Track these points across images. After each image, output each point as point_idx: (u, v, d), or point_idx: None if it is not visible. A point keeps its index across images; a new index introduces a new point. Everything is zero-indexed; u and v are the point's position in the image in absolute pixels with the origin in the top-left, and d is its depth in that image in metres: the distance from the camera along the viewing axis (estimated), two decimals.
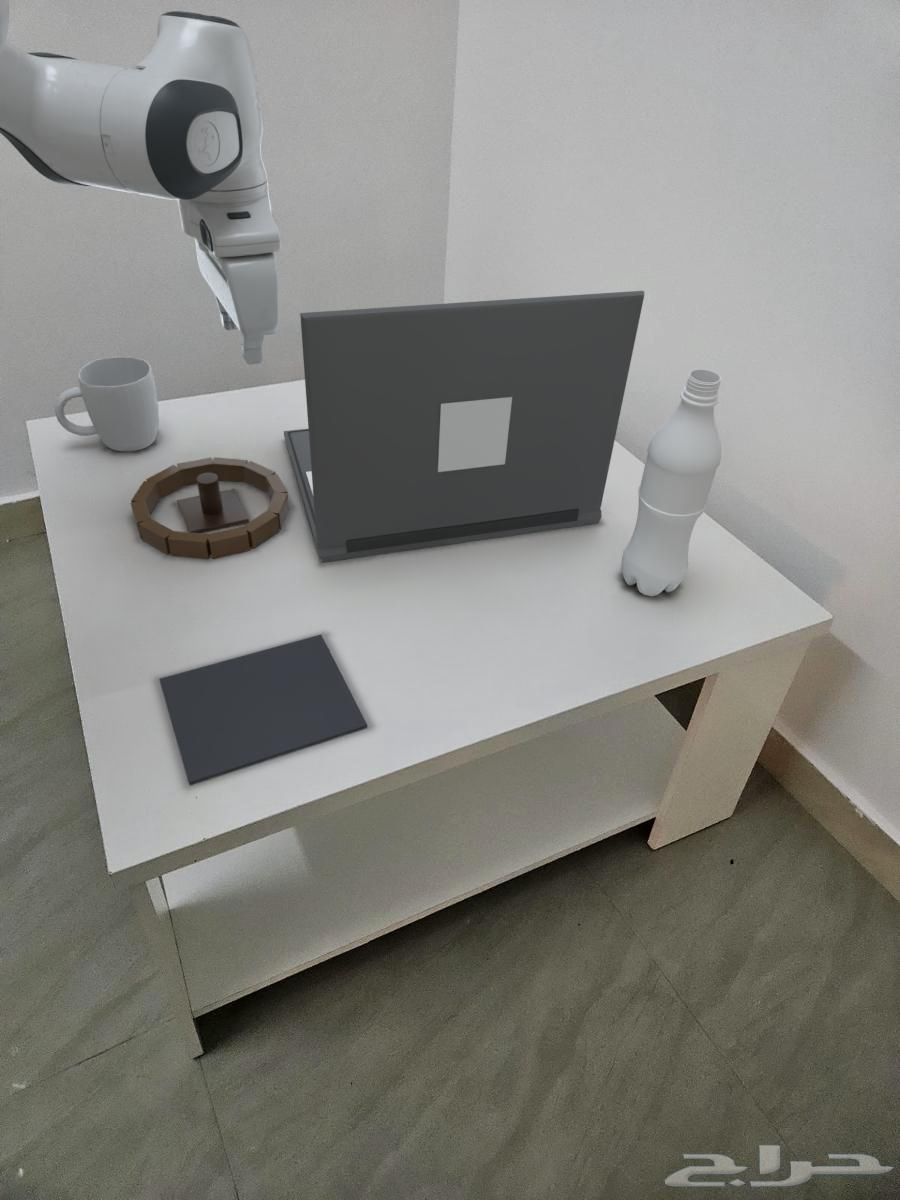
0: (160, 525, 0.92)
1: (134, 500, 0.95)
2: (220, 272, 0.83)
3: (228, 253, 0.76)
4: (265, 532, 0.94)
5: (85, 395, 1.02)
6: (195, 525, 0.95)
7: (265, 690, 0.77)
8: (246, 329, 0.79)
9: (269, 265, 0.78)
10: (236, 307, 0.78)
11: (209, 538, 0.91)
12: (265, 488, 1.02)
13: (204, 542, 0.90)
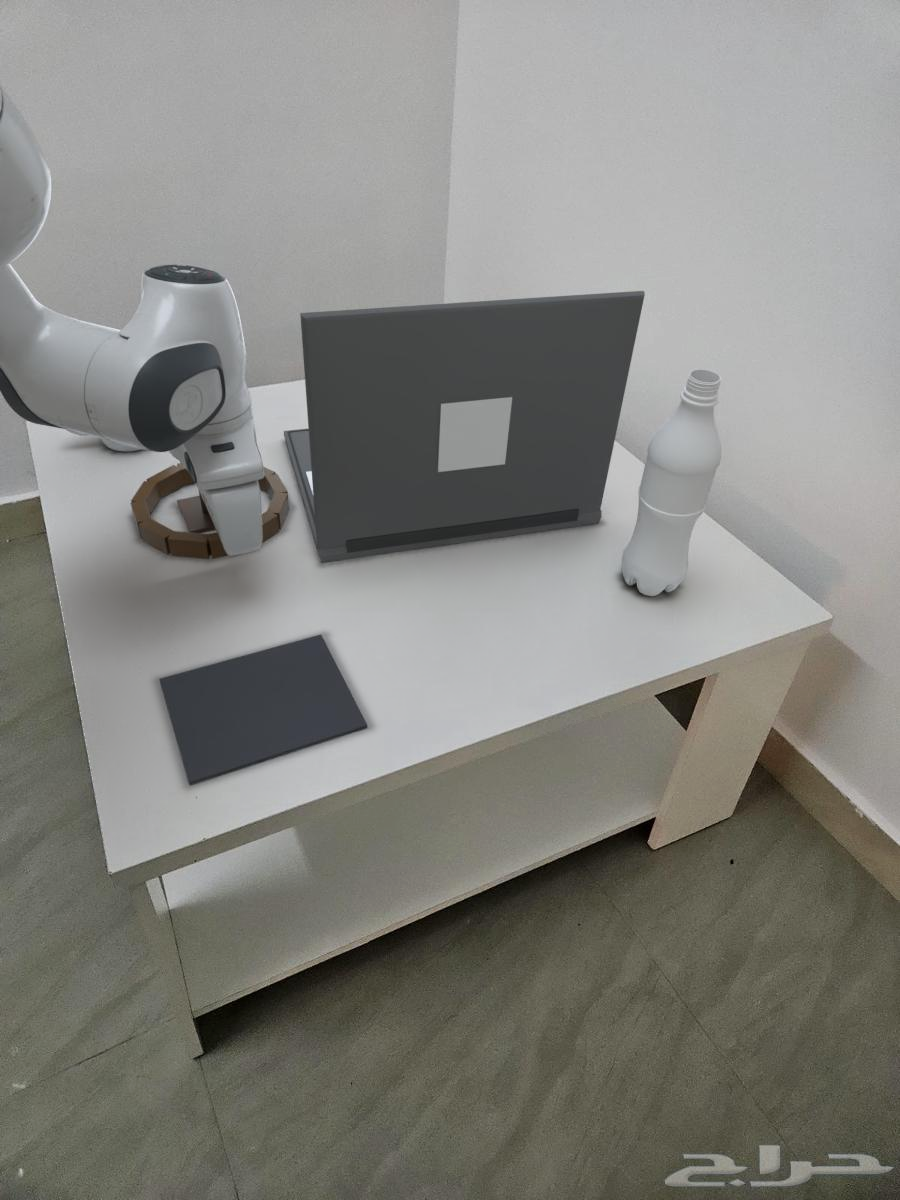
0: (160, 525, 0.92)
1: (134, 500, 0.95)
2: None
3: (212, 487, 0.77)
4: (265, 532, 0.94)
5: None
6: (195, 525, 0.95)
7: (265, 690, 0.77)
8: (230, 551, 0.81)
9: (252, 493, 0.79)
10: (220, 533, 0.80)
11: (209, 538, 0.91)
12: (266, 488, 1.02)
13: (204, 542, 0.90)
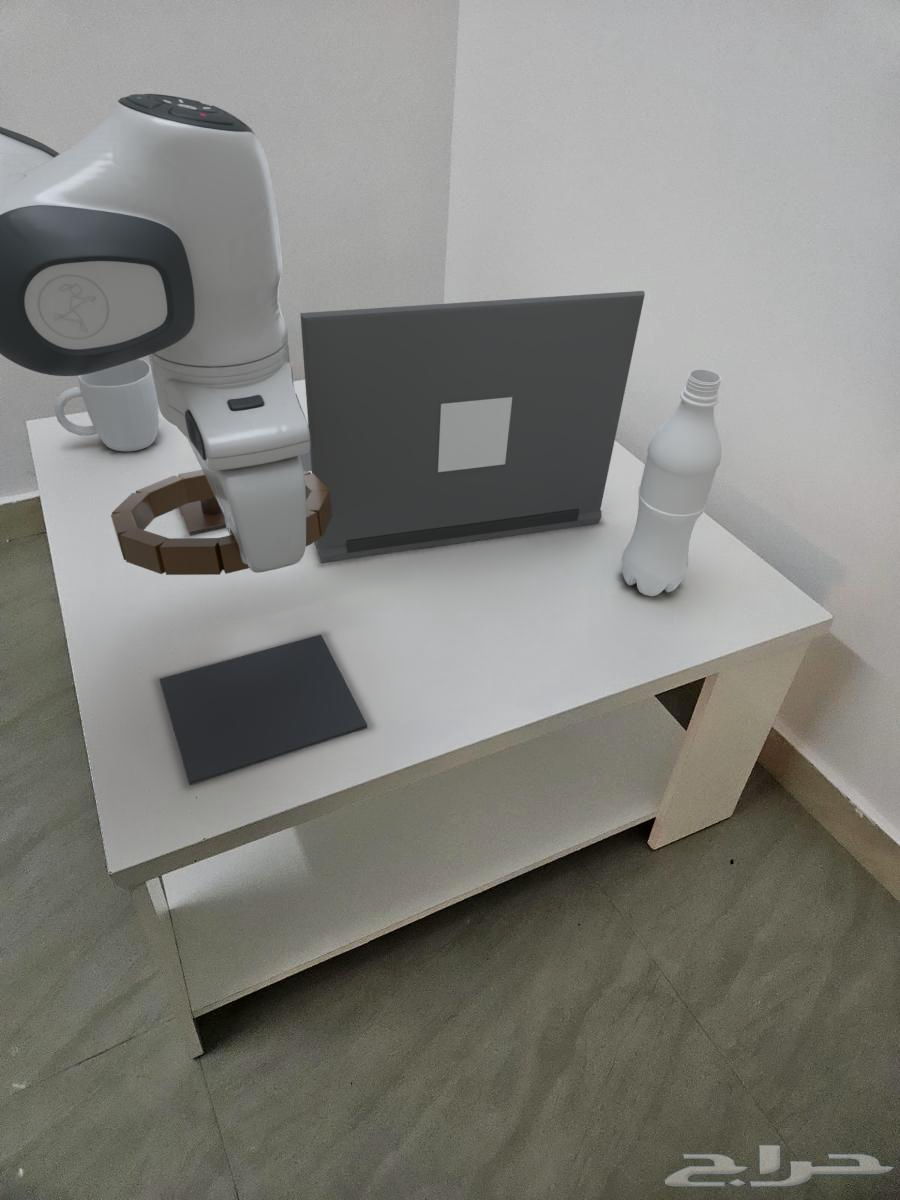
0: (150, 534, 0.64)
1: (116, 512, 0.68)
2: None
3: (230, 465, 0.49)
4: None
5: (85, 395, 1.02)
6: (195, 525, 0.95)
7: (265, 690, 0.77)
8: (256, 566, 0.52)
9: (292, 476, 0.51)
10: (242, 538, 0.51)
11: (220, 542, 0.62)
12: None
13: (212, 547, 0.61)
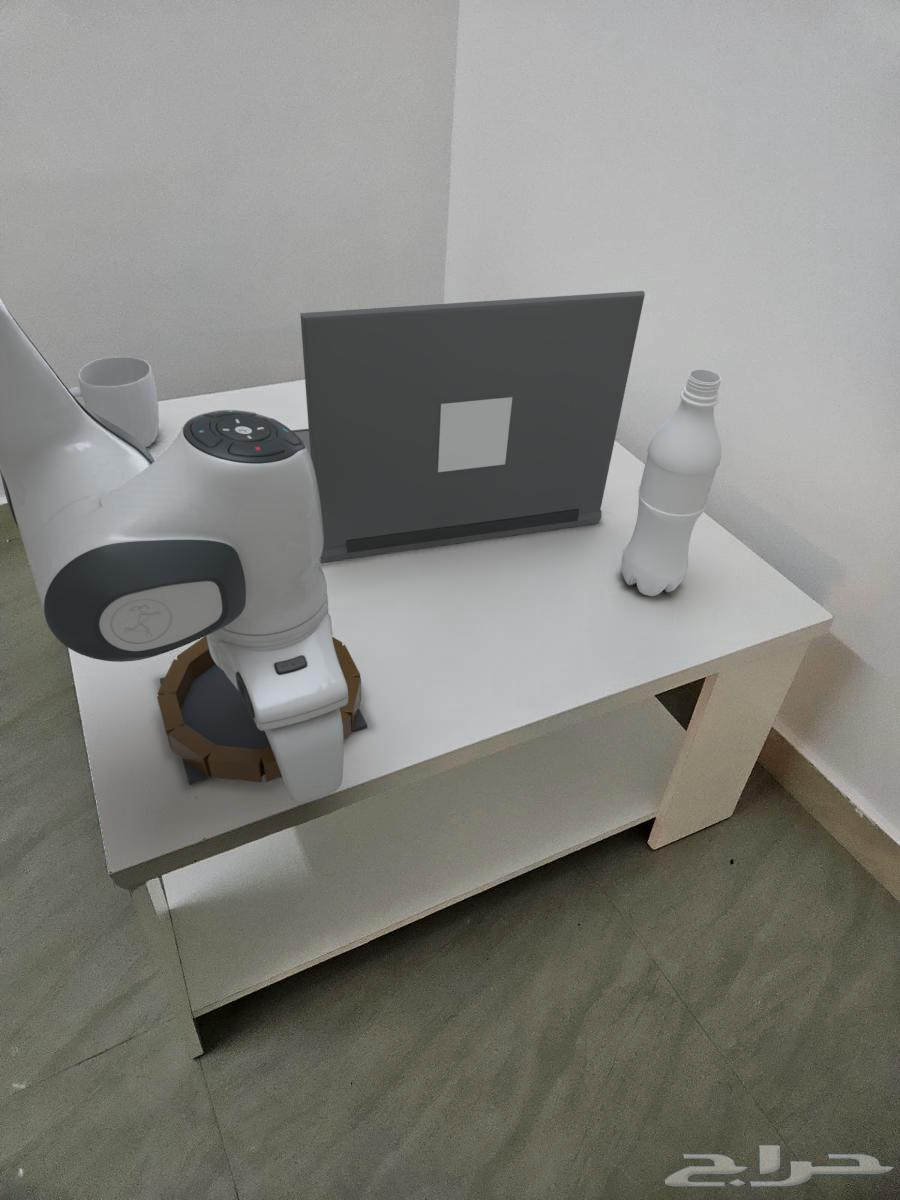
0: (197, 735, 0.69)
1: (162, 692, 0.73)
2: None
3: (277, 726, 0.54)
4: None
5: (85, 395, 1.02)
6: None
7: None
8: (298, 801, 0.57)
9: (331, 727, 0.56)
10: (286, 781, 0.56)
11: (263, 757, 0.68)
12: None
13: (257, 764, 0.67)
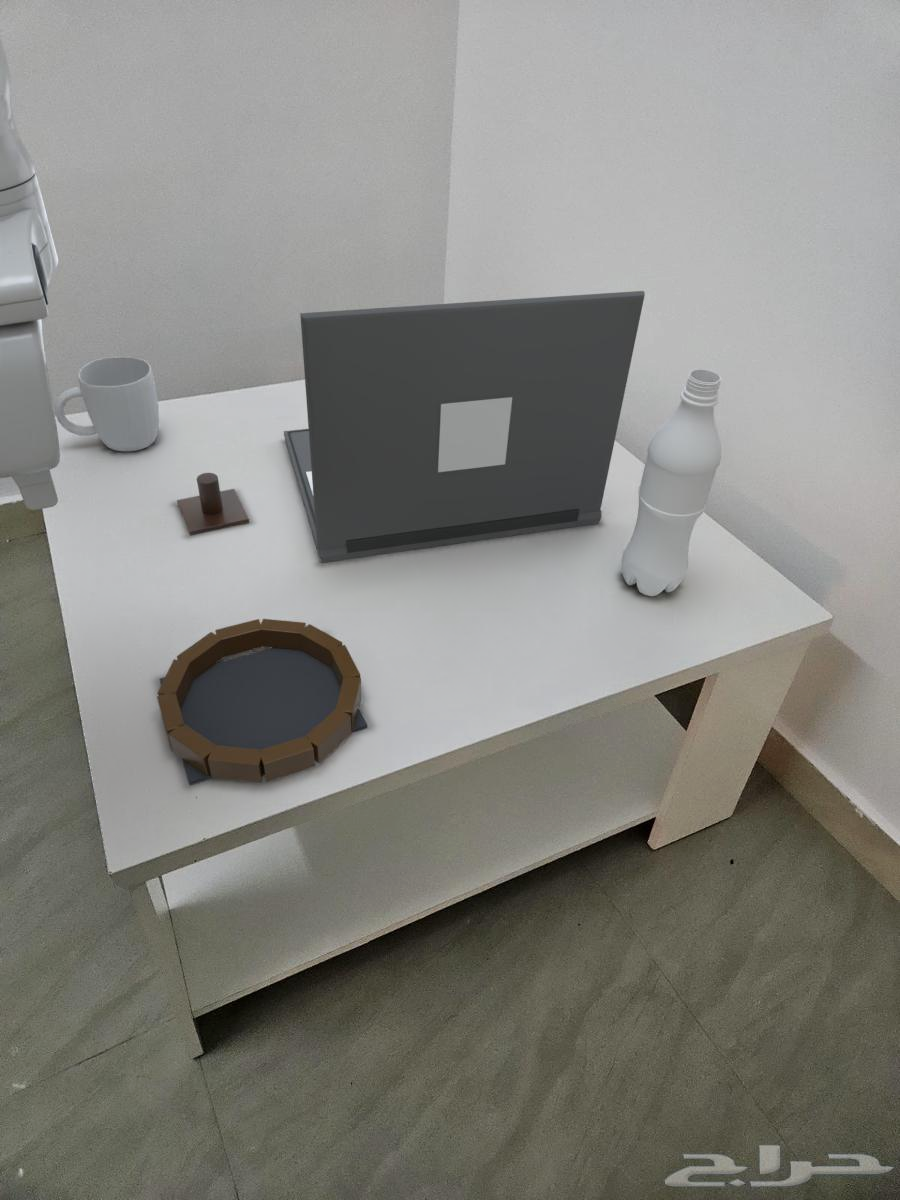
0: (197, 735, 0.69)
1: (162, 692, 0.73)
2: None
3: None
4: (335, 740, 0.71)
5: (85, 395, 1.02)
6: (195, 525, 0.95)
7: (265, 690, 0.77)
8: None
9: (22, 347, 0.39)
10: None
11: (263, 757, 0.68)
12: (329, 663, 0.79)
13: (257, 764, 0.67)
